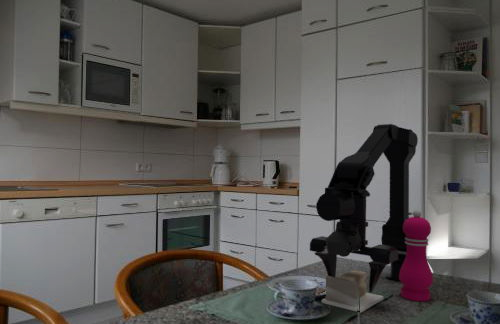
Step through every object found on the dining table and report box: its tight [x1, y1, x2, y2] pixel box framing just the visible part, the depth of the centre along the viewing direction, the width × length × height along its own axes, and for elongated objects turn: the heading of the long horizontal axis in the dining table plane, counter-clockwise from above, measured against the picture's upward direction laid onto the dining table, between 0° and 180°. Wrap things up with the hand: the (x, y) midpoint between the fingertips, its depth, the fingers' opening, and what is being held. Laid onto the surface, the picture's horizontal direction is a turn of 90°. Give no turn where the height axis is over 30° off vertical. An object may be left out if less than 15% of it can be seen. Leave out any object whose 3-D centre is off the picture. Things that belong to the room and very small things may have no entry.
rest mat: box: [321, 291, 384, 313], centre depth 91 cm, size 12×9×1 cm
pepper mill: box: [399, 209, 434, 302], centre depth 95 cm, size 7×7×20 cm
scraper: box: [324, 269, 367, 307], centre depth 91 cm, size 10×7×5 cm
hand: (351, 287), depth 91 cm, fingers open, 9 cm apart
